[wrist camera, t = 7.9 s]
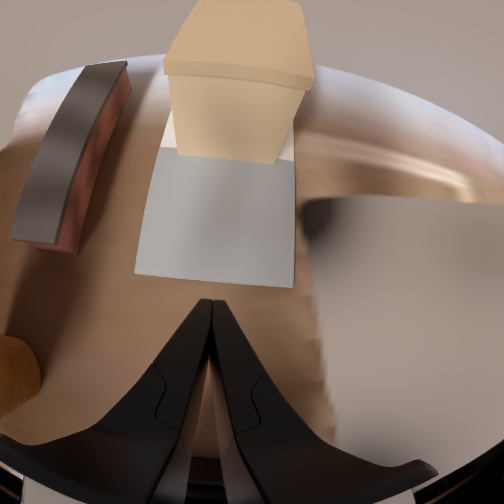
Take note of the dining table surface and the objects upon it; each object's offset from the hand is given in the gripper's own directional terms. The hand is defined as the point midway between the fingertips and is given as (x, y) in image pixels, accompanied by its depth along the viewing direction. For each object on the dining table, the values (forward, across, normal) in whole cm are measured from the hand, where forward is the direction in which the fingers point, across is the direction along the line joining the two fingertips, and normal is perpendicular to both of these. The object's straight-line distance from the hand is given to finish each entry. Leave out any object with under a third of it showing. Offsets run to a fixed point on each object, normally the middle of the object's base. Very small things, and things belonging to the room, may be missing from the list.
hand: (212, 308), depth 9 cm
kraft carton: (+23, 0, -6) cm, 24 cm away
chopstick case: (+18, +15, -1) cm, 24 cm away
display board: (+19, 0, -1) cm, 19 cm away
